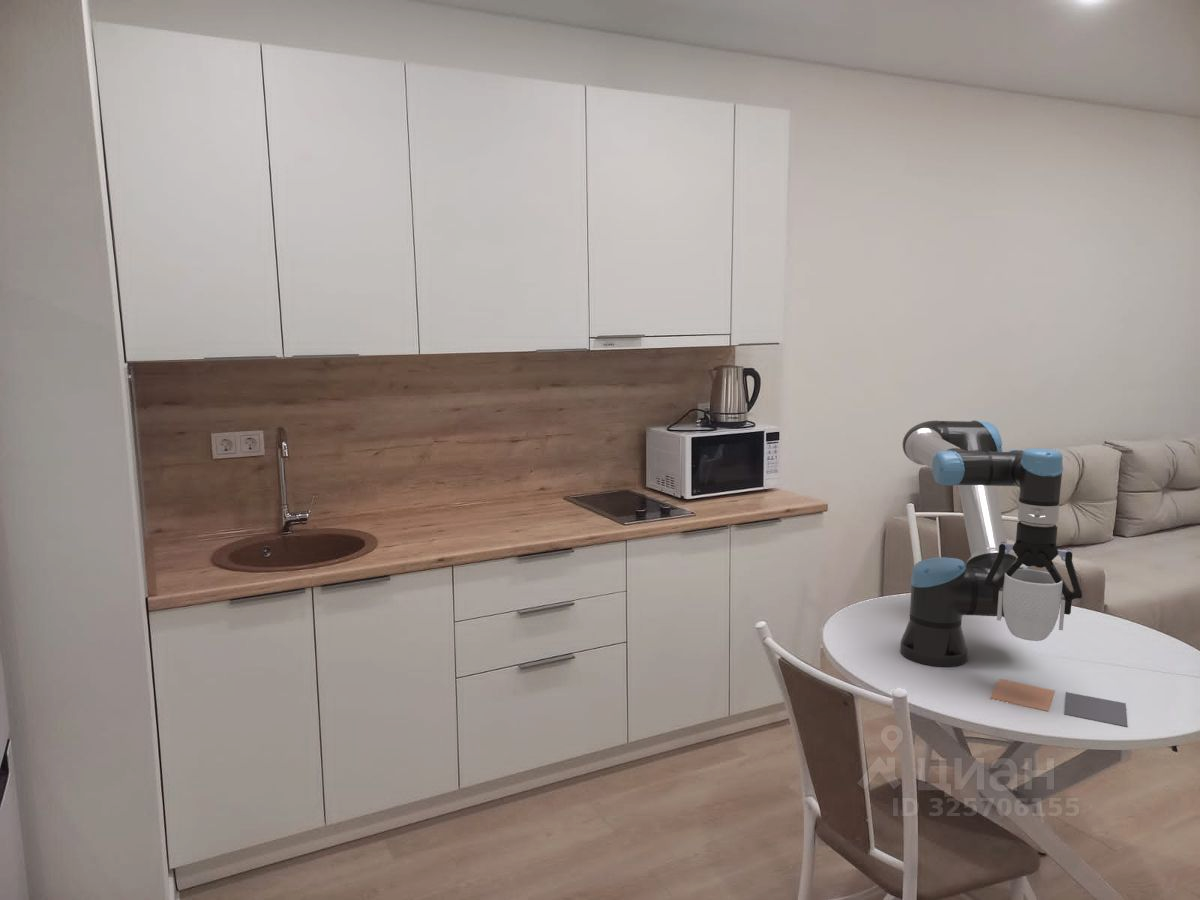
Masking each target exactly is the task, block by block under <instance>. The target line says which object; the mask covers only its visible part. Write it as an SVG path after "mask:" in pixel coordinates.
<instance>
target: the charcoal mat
mask: <svg viewBox="0 0 1200 900" xmlns="http://www.w3.org/2000/svg"><path fill="white" fill-rule="evenodd" d="M1064 699H1065V700H1064V701H1065V702H1064V712H1063V715H1064V716H1069V717H1073V718H1079V719H1084V720H1088V721H1089V720H1090V721H1093V722H1094V721H1095V722H1099V723H1104V724H1108V725H1114V726H1119V727H1123V728H1129V725H1128V715H1127V714H1128V713H1127V704H1126V702H1121V701H1116V700H1110V699H1105V698H1100V697H1095V696H1094V697H1093V696H1089V695H1083V694H1078V693H1073V692H1068V691H1066V692H1065V697H1064Z"/></svg>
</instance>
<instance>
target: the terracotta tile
mask: <svg viewBox="0 0 1200 900" xmlns="http://www.w3.org/2000/svg"><path fill="white" fill-rule="evenodd" d="M1055 692H1056V691H1055V690H1054V689H1049V688H1044V687H1040V686H1035V685H1031V684H1025V683H1021V682H1016V681H1012V680H1006V679H1003V678H999V679H998V681H997V683H996V685H995V687H994V689H993V691H992V693H991V695H990V698H989V699H990V700H993V699H994V700H993V701H997V700H999V701H998V702H1002V701H1003V702H1002V703H1006V702H1008V704H1010V705H1017V706H1020V707H1025V708H1030V709H1033V710H1036V711H1037V710H1038V711H1043V712H1045V713H1046V712H1047V713H1049V711H1050V709H1051V708H1050V707H1051V704H1052V701H1053V698H1054V694H1055Z"/></svg>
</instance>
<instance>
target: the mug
mask: <svg viewBox="0 0 1200 900" xmlns="http://www.w3.org/2000/svg"><path fill="white" fill-rule="evenodd" d="M1063 580H1064V579H1063ZM1063 580H1062V581H1061V582H1059V583H1056V582H1055V581H1054V579H1053V578H1052V576H1051V575H1050V573H1049V572H1048V571H1043V570H1038V569H1037V570H1036V569H1029V568H1028V569H1017V570H1016V571H1015V572H1014V573H1013V574H1012V576H1011V577H1009V576H1008V575H1007V574H1006V572H1005V577H1004V585H1003V612H1004V617H1003V618H1004V620H1005V624H1006V626H1007V629H1008V630H1009V632H1010V634H1011V635H1012V636H1014V637H1015V638H1018V639H1021V640H1026V641H1030V642H1031V641H1034V642H1040V641H1044V640H1046V639H1047V638H1048V637H1049V636H1050V635H1051V633H1052V632H1053V630H1054V629H1055V626H1056V624H1057V621H1058V619H1059V616H1060V608H1061V598H1062V596H1063V594H1062V585H1063Z"/></svg>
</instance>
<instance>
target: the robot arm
mask: <svg viewBox="0 0 1200 900" xmlns="http://www.w3.org/2000/svg"><path fill="white" fill-rule="evenodd" d="M1002 446H1003V441H1002V437H1001V434H1000V431H999V430H998V428H997V426H995V425H994V424H993V423H991V422H989V421H980V420H969V421H967V420H964V421H963V420H962V421H961V420H928V421H924V422H921V423H918V424H916V425H914V426H913V427H911V428H910V429H909V430H907V432H906V434H904V437H903V440H902V451H903V453H904V455H905V456H906V457H907V459H909V461H911V462H913V463H915V464H917V465H921V466H927V467H928V468H929V469H931V472H932V473H931V474H932V476H933V478H934V479H933V480H934V482H935V483H936V484H939V485H946V486H954V487H955V486H957V487H958V491H959V493H958V494H959V498H960V504H961V508H962V515H963V521H964V524H965V530H966V536H967V541H968V548H969V551H970V557H969V558H968V559H967V560H966V562H964V561H963V560H962V559H960V558H955V557H949V556H948V557H945V556H944V557H943V556H941V557H940V556H939V557H931V558H925V559H923V560H922V559H921V560H920V561H918V562H916V563H915V564H914V566H913V567H912V573H911V580H910V586H911V587H910V602H909V604H910V607H909V619H908V620H909V621H908V623H907V626H906V628H905V631H904V633H903V634H902V638H901V639H900V644H899V645H900V650H899V651H900V654H901V655H902V656H904V657H905V658H907V659H908V660H911V661H913V662H916V663H920V664H923V665H928V666H935V667H957V666H961V665H963V664H965V663H966V662H967V661H968V653H969V651H968V647H967V643H966V640H965V636H964V632H963V629H962V622H963V621H962V619H963V616H979V617H982V616H983V617H996V621H1002V618H1005V617H1004V612H1003V585H1004V577H1005V572H1006V574H1007V575H1008V576H1009V577H1011V576H1012V574H1013V573H1014V572H1015V571H1016V570H1017V569H1029V567H1035V568H1038V569H1039V568H1040V569H1042V568H1045V569H1046V570H1047V572H1048V573H1050V575H1051V576H1052V578H1053V579H1054V581H1055V582H1056V583H1059V582H1061V581H1062V580H1063V585H1062V598H1061V605H1060V611H1059V620H1058V621H1059V622H1058V631H1064V619H1065V615H1069V616H1070V615H1071V613H1072V603H1073V602H1072V601H1073V600H1075V599H1076V600H1077V599H1079V600H1080V599H1082V597H1083V590H1082V587H1081V584H1080V582H1079V578H1078V576H1077V571H1076V569H1075V566H1074V563H1073V553H1074V552H1073V550H1072V549H1058V547H1057V537H1058V526H1057V525H1056V524H1058V522H1059V514H1060V513H1059V512H1060V500H1061V498H1060V497H1061V487H1062V479H1063V478H1062V477H1063V471H1064V467H1063V457H1064V456H1063V454H1062V452H1060V451H1059V450H1056V449H1052V448H1051V449H1050V448H1042V447H1041V448H1040V447H1031V448H1030V447H1029V448H1026V449H1024V450H1023V449H1020V450H1019V449H1011V450H1008V451H1003V448H1002ZM996 487H1019V495H1018V496H1019V497H1018V508H1017V509H1018V510H1017V520H1019V521H1017V523H1016V535H1015V542H1014V543H1013V544H1011V543H1008V540H1007V534H1006V530H1005V525H1004V521H1003V515H1002V513H1001V512H1002V511H1001V507H1000V503H999V497H998V492H997V489H996ZM1010 551H1013V552H1014V554H1013V553H1011V552H1010ZM1058 556H1059V557H1060V560H1061V561H1063V562H1065V563H1064V564H1065V568H1066V571H1067V574H1068V577H1069V580H1070V583H1071V587H1072V589H1073V590H1072V591H1071V590H1070V588H1069V586H1068V585H1067V583H1066V582H1065V580H1064V578H1063V577H1062V576H1061V574H1060V572H1059V571H1058V569H1057V567H1056V566H1055V564H1054V562H1053V560H1054V559H1055V558H1056V557H1058ZM1022 565H1024V566H1022ZM1025 566H1026V567H1025ZM1027 567H1028V568H1027Z"/></svg>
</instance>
